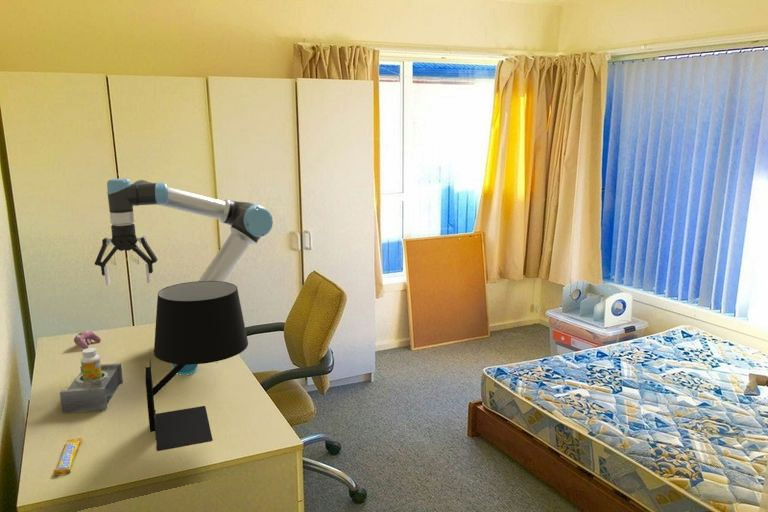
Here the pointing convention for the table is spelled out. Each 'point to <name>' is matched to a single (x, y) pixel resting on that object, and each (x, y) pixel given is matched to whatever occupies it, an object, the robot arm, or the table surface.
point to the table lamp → (192, 350)
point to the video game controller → (86, 339)
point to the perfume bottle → (187, 369)
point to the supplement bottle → (91, 365)
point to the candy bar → (68, 456)
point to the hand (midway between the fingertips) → (128, 283)
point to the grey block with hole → (92, 391)
